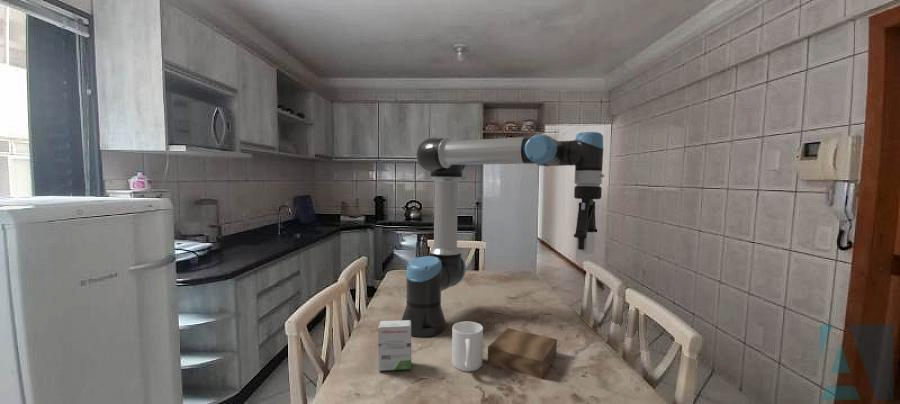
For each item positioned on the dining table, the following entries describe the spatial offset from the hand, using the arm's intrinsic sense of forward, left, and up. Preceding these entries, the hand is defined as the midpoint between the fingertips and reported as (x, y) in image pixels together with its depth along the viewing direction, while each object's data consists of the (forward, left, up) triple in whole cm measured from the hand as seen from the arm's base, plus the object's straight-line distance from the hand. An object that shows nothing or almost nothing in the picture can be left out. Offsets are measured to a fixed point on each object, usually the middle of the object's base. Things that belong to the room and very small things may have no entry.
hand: (585, 256), depth 105 cm
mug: (-24, -29, -28) cm, 47 cm away
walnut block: (-13, -16, -28) cm, 35 cm away
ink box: (-41, -38, -28) cm, 63 cm away
